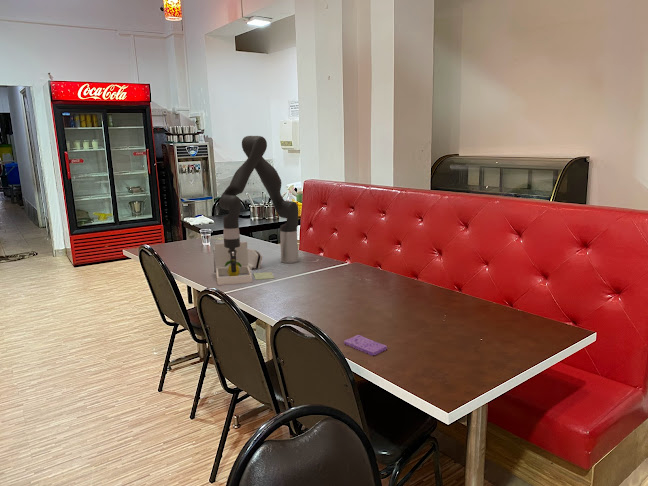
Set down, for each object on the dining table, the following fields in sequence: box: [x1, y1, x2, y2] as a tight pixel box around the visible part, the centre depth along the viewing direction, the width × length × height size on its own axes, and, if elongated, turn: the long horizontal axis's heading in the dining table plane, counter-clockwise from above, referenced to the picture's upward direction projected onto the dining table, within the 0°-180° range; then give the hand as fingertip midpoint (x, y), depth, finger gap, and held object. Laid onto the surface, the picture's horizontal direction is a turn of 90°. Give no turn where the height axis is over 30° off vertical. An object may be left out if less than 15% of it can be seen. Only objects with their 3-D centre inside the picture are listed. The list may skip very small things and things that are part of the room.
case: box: [212, 241, 253, 286], centre depth 236 cm, size 17×20×16 cm
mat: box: [252, 271, 275, 281], centre depth 240 cm, size 9×11×1 cm
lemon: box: [224, 261, 241, 277], centre depth 236 cm, size 7×6×10 cm
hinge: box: [247, 248, 263, 271], centre depth 260 cm, size 17×5×10 cm, turn 34°
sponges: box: [343, 334, 388, 356], centre depth 156 cm, size 7×13×2 cm, turn 44°
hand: (233, 270), depth 236 cm, fingers open, 8 cm apart
